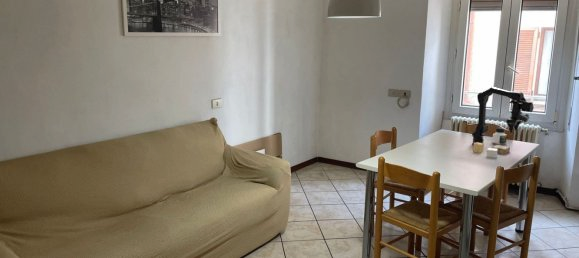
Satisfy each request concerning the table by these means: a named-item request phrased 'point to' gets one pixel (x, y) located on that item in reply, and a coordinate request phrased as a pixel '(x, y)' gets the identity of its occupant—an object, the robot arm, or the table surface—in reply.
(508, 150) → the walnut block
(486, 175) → the table surface
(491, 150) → the grey block
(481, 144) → the ochre block
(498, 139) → the medicine bottle
